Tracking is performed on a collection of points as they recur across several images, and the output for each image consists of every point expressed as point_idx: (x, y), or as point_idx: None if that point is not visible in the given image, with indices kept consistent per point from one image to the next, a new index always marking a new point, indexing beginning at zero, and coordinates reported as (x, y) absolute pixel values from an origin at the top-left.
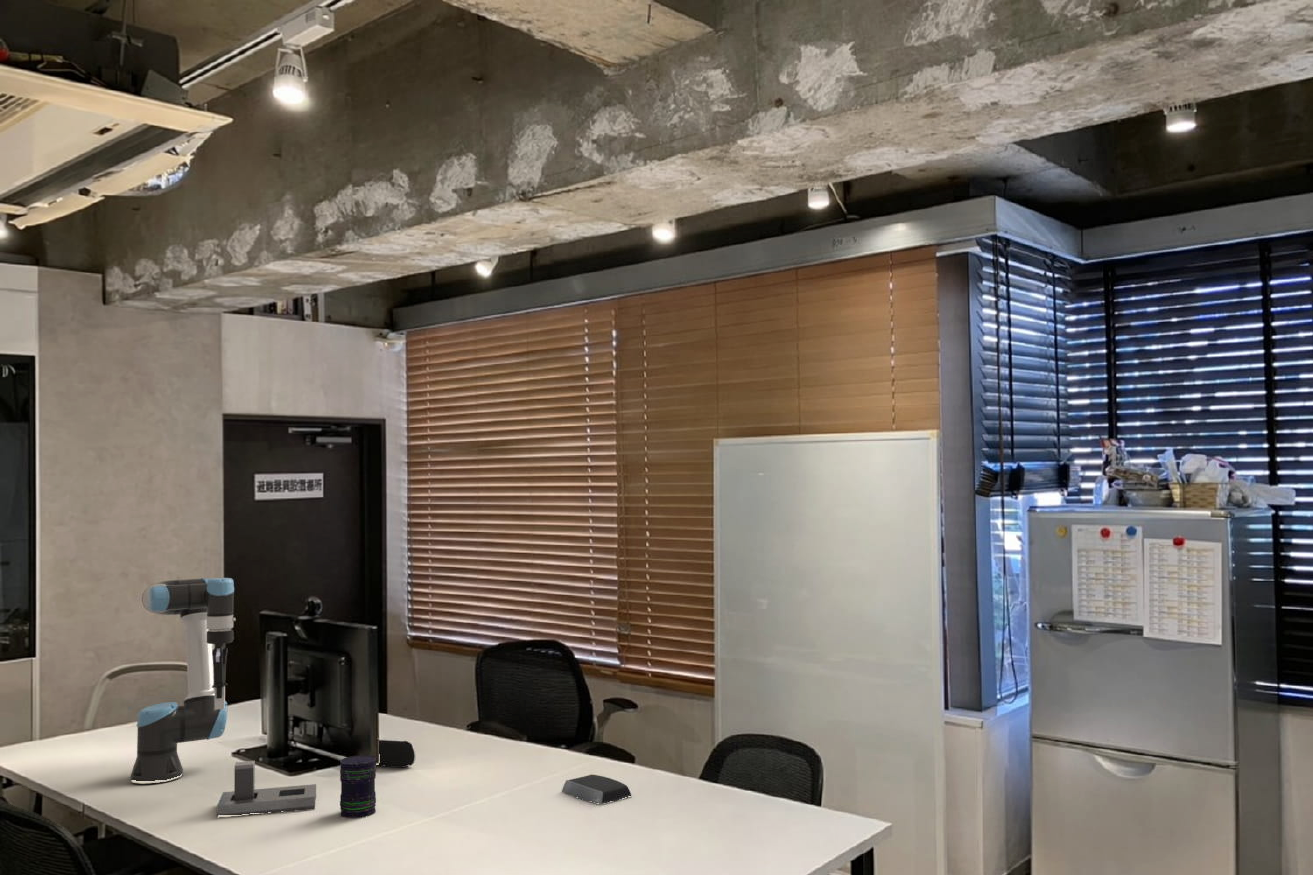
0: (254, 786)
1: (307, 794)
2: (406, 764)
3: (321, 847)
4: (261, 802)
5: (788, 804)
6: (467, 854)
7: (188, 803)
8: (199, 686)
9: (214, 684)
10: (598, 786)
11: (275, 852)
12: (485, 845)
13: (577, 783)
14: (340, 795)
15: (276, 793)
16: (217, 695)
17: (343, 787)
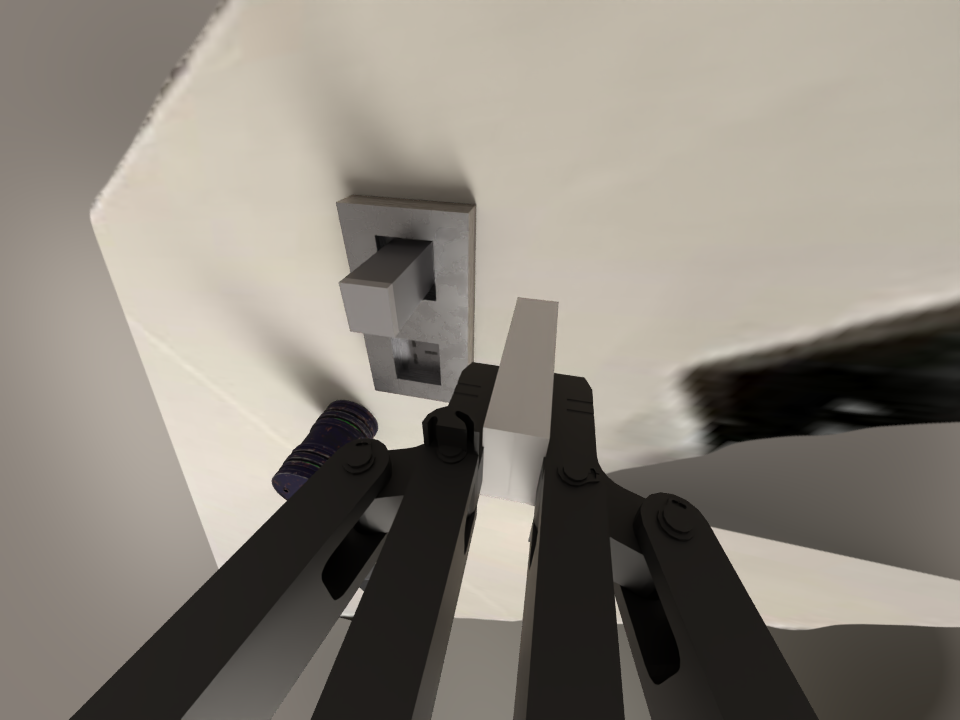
0: (420, 301)
1: (393, 382)
2: None
3: (198, 357)
4: None
5: None
6: (203, 462)
7: (529, 84)
8: None
9: (334, 459)
10: (364, 583)
11: (164, 301)
12: (230, 479)
13: None
14: (330, 423)
15: (416, 335)
16: (459, 385)
17: (309, 437)
